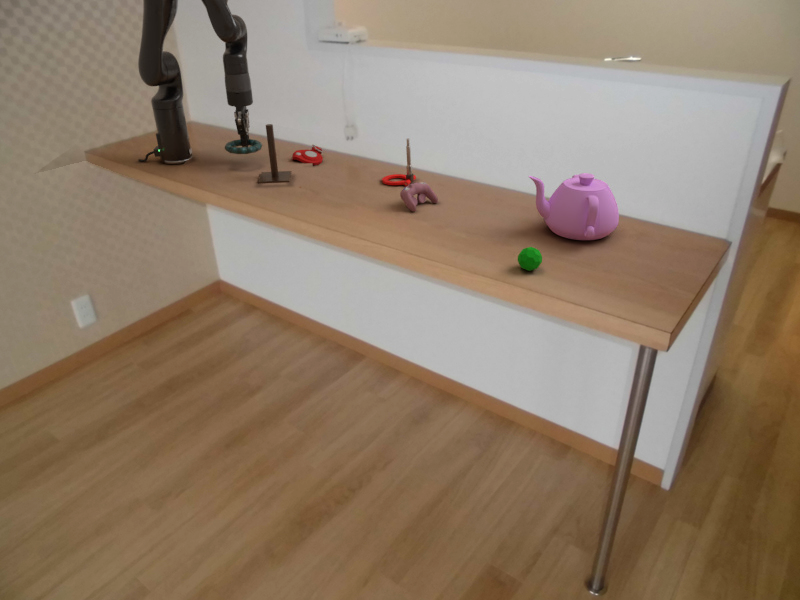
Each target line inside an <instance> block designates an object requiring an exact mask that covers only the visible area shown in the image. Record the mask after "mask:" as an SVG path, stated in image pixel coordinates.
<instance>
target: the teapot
mask: <svg viewBox="0 0 800 600" xmlns="http://www.w3.org/2000/svg"><path fill="white" fill-rule="evenodd" d="M528 178H529V179H531V181H532V182H533V184H534V185H535V188H536V189H535V191H536V193H535V207H536V210H537V212H538V213H539V215H540V216H541V217H542V218H543V220H544V223H545V225H546V226H547V227H548V228H549V229H550V231H551V232H552V233H554V234H555V235H558V236H560V237H562V238H565V239H570V240H576V241H595V240H601V239H604V238H605V237H607V236H608V235H610V234H611V233H613V232H614V231H615V230H616V229H617V227H618V226H619V221H620V212H619V206H618V203H617V200H616V198H615V196H614V193H613V191H612V189H611V188H610V186H609V184H608V183H607V182H606V181H604V180H601V179H598V178H595V174H593V173H589V172H582V173H579V174H573V175H572V176H571V177H570V178H569V177H568V178H566V179H564V180H563V181H562V182H561V183H560V184H559V186H558V187H556V189H555V190H554V192H552V194H551V196H550V197H549V199H548V200H547V199H546V197H545V184H544V182H543V180H542V179H541V178H539V177H535V176H532V175H528Z"/></svg>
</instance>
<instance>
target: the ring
mask: <svg viewBox="0 0 800 600" xmlns="http://www.w3.org/2000/svg"><path fill="white" fill-rule="evenodd" d="M248 143H249V146H248V147H242V146H241V139H240V138H239V139H234V140H231V141H228V142H226V144H225V145H224V150H225V152H227V153H229V154H233V155H248V154H254V153H256V152H259V151H261V150H262V148H263V144H262V142H261V141H260V140H257V139H251V138H249V139H248Z"/></svg>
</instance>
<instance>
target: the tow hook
mask: <svg viewBox="0 0 800 600" xmlns="http://www.w3.org/2000/svg"><path fill="white" fill-rule="evenodd" d="M405 148H406V149H405V150H406V152H405V153H406V165H405V166H406V167H405V168H406V174H403V173H402V174H401V173H397V174H388V175H386V176H383V177H382V178H381V182H382V184H384V185H387V186H404V187H407V186H408V185H410V184H412V183H414V181H415V180H416V179H417V176H416V175H415V174H414V173H413V165H412V150H411V149H412V148H411V143H410V138H406V146H405ZM392 179H402V180H396V181H394V180H392Z"/></svg>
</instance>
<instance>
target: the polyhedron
mask: <svg viewBox="0 0 800 600" xmlns="http://www.w3.org/2000/svg"><path fill="white" fill-rule="evenodd" d="M517 262H518V265H519V266H520V268H521V269H523V270H525V271H527V272H530V271H531V272H532V271H534V270H537V269H539V267H540V266H541V265H542V263H543V255H542V253H541V251H540V249H537V248H536V247H533V246H528V247H525V248H523V249H521V251H520V252H519V253H518V255H517Z"/></svg>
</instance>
